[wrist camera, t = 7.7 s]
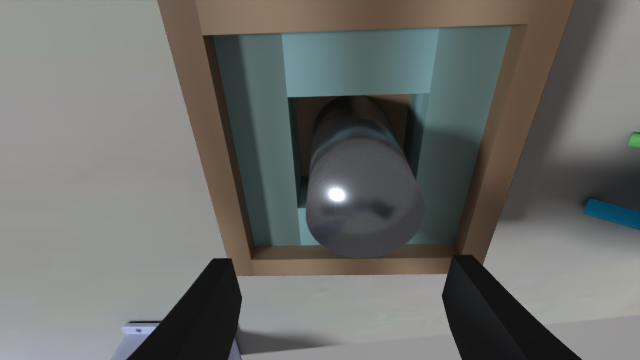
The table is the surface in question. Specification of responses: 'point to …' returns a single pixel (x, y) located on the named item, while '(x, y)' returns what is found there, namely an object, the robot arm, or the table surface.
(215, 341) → the robot arm
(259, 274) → the bore box
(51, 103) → the table surface
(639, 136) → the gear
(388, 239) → the peg
